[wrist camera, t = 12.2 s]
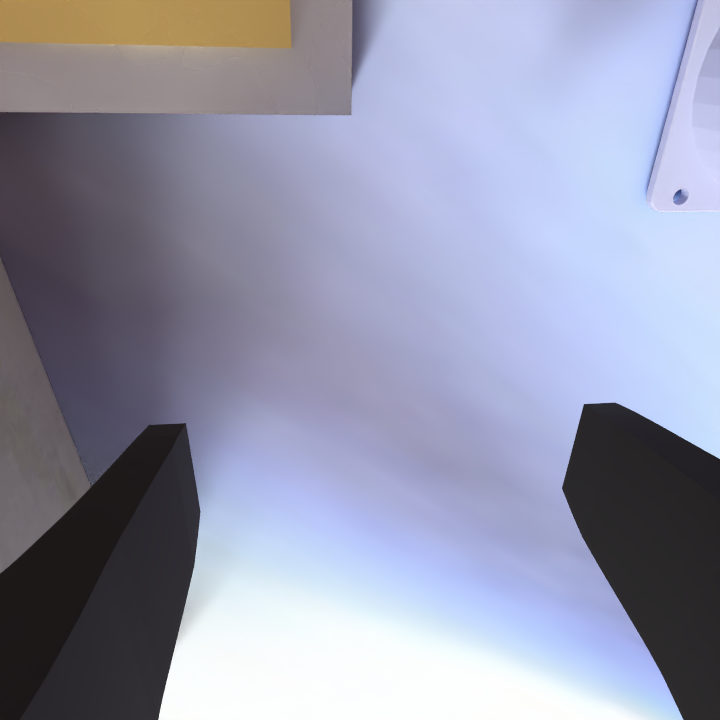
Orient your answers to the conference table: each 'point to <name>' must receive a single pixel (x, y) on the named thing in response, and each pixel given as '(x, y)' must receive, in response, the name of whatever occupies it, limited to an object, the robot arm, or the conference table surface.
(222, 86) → the panel
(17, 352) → the geiger counter
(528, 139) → the conference table surface
